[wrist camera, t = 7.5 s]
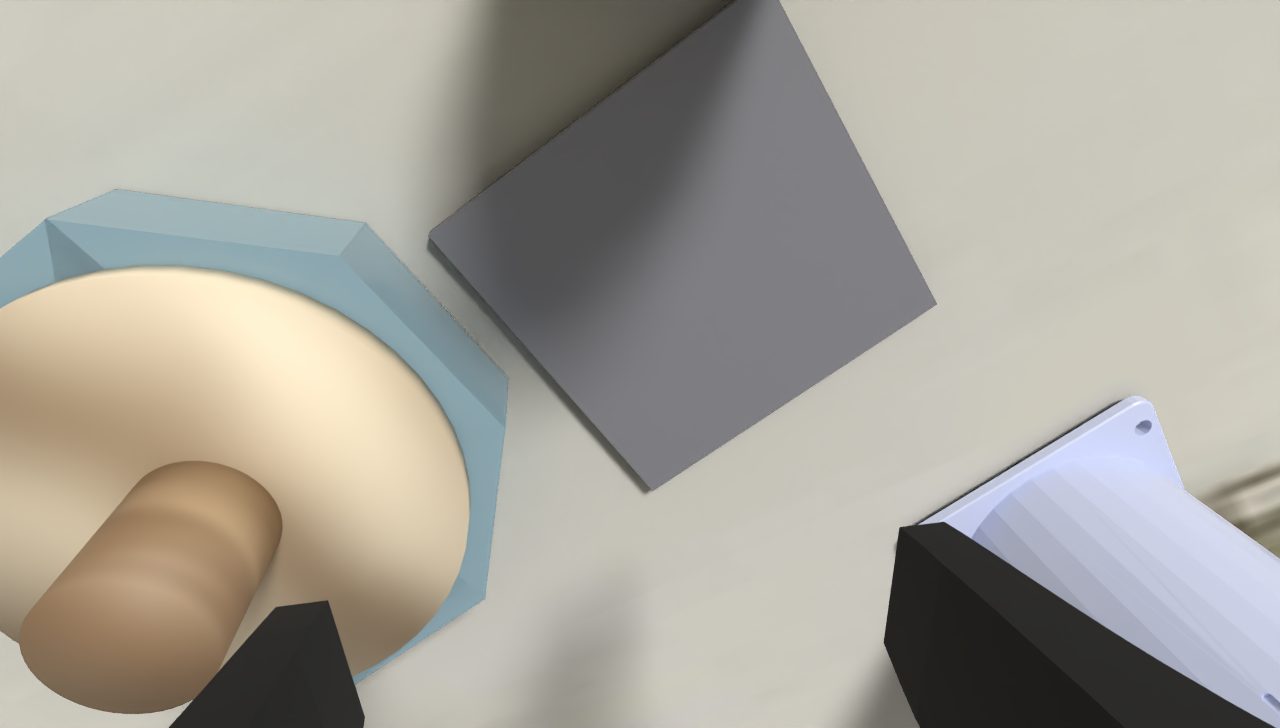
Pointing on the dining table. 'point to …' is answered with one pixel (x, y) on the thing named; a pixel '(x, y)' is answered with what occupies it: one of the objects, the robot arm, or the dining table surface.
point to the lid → (210, 480)
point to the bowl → (322, 269)
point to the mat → (693, 245)
